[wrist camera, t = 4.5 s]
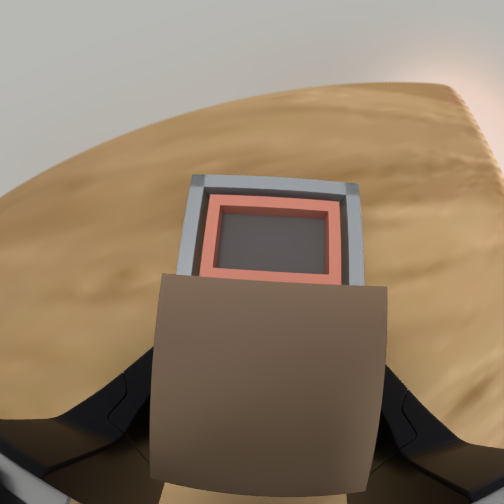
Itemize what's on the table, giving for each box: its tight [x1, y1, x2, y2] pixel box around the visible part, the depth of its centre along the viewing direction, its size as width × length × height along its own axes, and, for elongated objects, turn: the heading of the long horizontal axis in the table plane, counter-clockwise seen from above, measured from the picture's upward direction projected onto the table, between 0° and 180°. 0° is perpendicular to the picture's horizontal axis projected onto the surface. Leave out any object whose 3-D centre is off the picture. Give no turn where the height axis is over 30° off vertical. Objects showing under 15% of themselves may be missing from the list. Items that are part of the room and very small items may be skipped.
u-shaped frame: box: [176, 175, 364, 286], centre depth 18 cm, size 18×12×2 cm, turn 176°
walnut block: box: [150, 273, 387, 497], centre depth 10 cm, size 4×4×11 cm
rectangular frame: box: [199, 194, 341, 285], centre depth 20 cm, size 6×9×2 cm, turn 86°
